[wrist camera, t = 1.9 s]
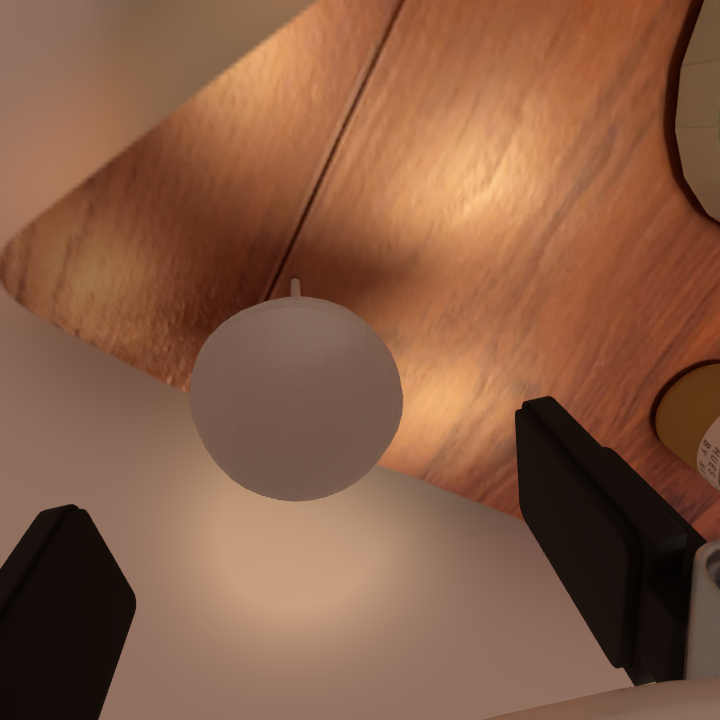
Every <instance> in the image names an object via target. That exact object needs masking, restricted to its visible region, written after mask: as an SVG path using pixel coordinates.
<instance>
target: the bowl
mask: <svg viewBox="0 0 720 720" xmlns="http://www.w3.org/2000/svg"><path fill="white" fill-rule="evenodd" d="M675 127H676V128H675V133H676V138H677V143H678V148H679V154H680V159H681V164H682V169H683V174H684V178H685V180H686V181H687V183H688V184H689V186H690V188H691V189H692V191H693V192H694V194H695V195H696V197H697V199H698V200H699V202H700V203H701V205H702V207H703V208H704V210H705V211H706V213H707V214H708V215H709V216H711V217H712V218H714V219H715V220H717V221H719V222H720V0H704V2H703V5H702V8H701V11H700V14H699V16H698V19H697V22H696V25H695V28H694V31H693V34H692V36H691V39H690V42H689V45H688V48H687V51H686V54H685V56H684V59H683V62H682V67H681V72H680V82H679V92H678V102H677V111H676V121H675Z"/></svg>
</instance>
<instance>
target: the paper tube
mask: <svg viewBox="0 0 720 720" xmlns="http://www.w3.org/2000/svg"><path fill="white" fill-rule="evenodd" d="M655 424H656V430H657V434H658V437H659V439H660V440H661V441H662V443H663V444H664V445H665V446H666V447H667V448H669V449H670V450H671V451H672V452H673V453H675V454H676V455H677V456H678V457H679V458H681V459H682V460H683V461H684V462H685V463H687V464H688V465H689V466H690V467H692V468H693V469H694V470H695V471H696V472H698V473H699V474H700V475H701V476H702V477H703V478H704V479H705V480H706V481H708V482H709V483H710V484H711V485H713V486H714V487H715V488H716V489H717V490H719V491H720V363H719V364H711V365H706V366H702V367H700V368H697V369H695V370H693V371H691V372H689V373H687V374H686V375H684V376H683V377H681V378H680V379H679V380H678V381H676V382H675V383H674V384H673V385H672V386H671V387H670V389H669V390H668V391H667V392H666V393H665V395H664V396H663V398H662V400H661V402H660V404H659V406H658V409H657V412H656V418H655Z"/></svg>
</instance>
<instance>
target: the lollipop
mask: <svg viewBox="0 0 720 720" xmlns="http://www.w3.org/2000/svg"><path fill="white" fill-rule="evenodd" d="M190 406H191V412H192V417H193V420H194V423H195V425H196V427H197V430H198V432H199V435H200V437H201V439H202V441H203V443H204V445H205V447H206V449H207V450H208V452H209V453H210V455H211V456H212V458H213V459H214V461H215V462H216V463H217V464H218V466H219V467H220V468H221V469H222V470H223V471H224V472H225V473H226V474H227V475H228V476H229V477H230V478H231V479H232V480H234V481H235V482H237V483H238V484H240V485H241V486H243V487H244V488H246V489H248V490H250V491H253V492H255V493H257V494H260V495H263V496H266V497H270V498H274V499H278V500H286V501H308V500H314V499H319V498H323V497H327V496H329V495H332V494H334V493H337V492H339V491H341V490H343V489H345V488H347V487H349V486H351V485H352V484H354V483H356V482H357V481H359V480H360V479H361V478H362V477H363V476H365V475H366V474H367V473H368V472H369V471H370V470H371V469H372V468H373V467H374V465H375V464H376V463H377V462H378V460H379V459H380V458H381V456H382V455H383V453H384V452H385V450H386V449H387V448H388V446H389V445H390V443H391V442H392V440H393V438H394V436H395V434H396V432H397V430H398V427H399V423H400V419H401V416H402V408H403V393H402V387H401V382H400V377H399V372H398V369H397V366H396V364H395V361H394V359H393V357H392V354H391V352H390V351H389V349H388V348H387V346H386V345H385V343H384V342H383V341H382V339H381V338H380V336H379V335H378V334H377V333H376V331H375V330H374V329H373V328H372V327H371V326H370V325H369V324H368V323H367V322H365V321H364V320H363V319H362V318H361V317H360V316H358V315H357V314H355V313H353V312H352V311H350V310H349V309H347V308H345V307H343V306H340V305H338V304H335V303H333V302H330V301H327V300H323V299H317V298H311V297H301V295H300V282H299V280H298V279H297V278H293V279H292V280H291V297H284V298H279V299H274V300H269V301H265V302H263V303H260V304H257V305H255V306H252V307H250V308H247V309H244V310H242V311H240V312H238V313H237V314H235V315H234V316H232V317H230V318H229V319H227V320H226V321H224V322H223V323H222V324H221V325H220V326H219V327H218V328H217V329H216V330H215V331H214V332H213V333H212V334H211V335H210V336H209V337H208V338H207V340H206V342H205V343H204V345H203V347H202V348H201V350H200V352H199V353H198V356H197V359H196V362H195V365H194V368H193V372H192V377H191V386H190Z"/></svg>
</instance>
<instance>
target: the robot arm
mask: <svg viewBox="0 0 720 720" xmlns="http://www.w3.org/2000/svg"><path fill="white" fill-rule="evenodd" d="M515 427H516V446H517V465H518V485H519V503H520V509H521V512H522V515H523V518H524V520H525V522H526V523H527V525H528V526H529V528H530V530H531V531H532V533H533V535H534V537H535V538H536V540H537V541H538V543H539V545H540V547H541V548H542V550H543V552H544V553H545V555H546V557H547V558H548V560H549V561H550V563H551V565H552V567H553V568H554V570H555V572H556V573H557V575H558V577H559V578H560V580H561V582H562V583H563V585H564V587H565V588H566V590H567V592H568V593H569V595H570V597H571V598H572V600H573V602H574V603H575V605H576V607H577V608H578V610H579V612H580V613H581V615H582V617H583V618H584V620H585V622H586V623H587V625H588V627H589V628H590V630H591V632H592V633H593V635H594V637H595V638H596V640H597V642H598V643H599V645H600V647H601V648H602V650H603V652H604V653H605V655H606V657H607V658H608V660H609V661H610V663H611V664H612V665H613V666H614V667H615V668H617V669H618V668H622V667H623V668H624V670H625V671H626V673H627V675H628V676H629V677H630V679H631V681H632V683H633V684H634V686H635V687H629V688H623V689H618V690H613V691H608V692H604V693H599V694H595V695H590V696H585V697H581V698H576V699H572V700H567V701H563V702H558V703H554V704H550V705H544V706H540V707H536V708H531V709H527V710H522V711H518V712H513V713H509V714H505V715H501V716H497V717H492V718H489V719H484V720H720V539H717V540H714V541H711V542H707V541H706V540H705V539H704V538H703V537H702V536H701V535H700V534H699V533H698V532H697V531H696V530H695V529H694V528H693V527H692V526H691V525H690V524H689V523H688V522H687V521H686V520H685V519H684V518H682V517H681V516H680V515H679V514H678V513H677V512H676V511H675V510H674V509H673V508H672V507H671V506H670V505H669V504H668V503H667V502H666V501H665V500H664V499H663V498H662V497H661V496H660V495H659V494H658V493H657V492H656V491H655V490H654V489H653V488H652V487H651V486H650V485H649V484H648V483H647V482H646V481H645V480H644V479H643V478H642V477H641V476H640V475H639V474H638V473H637V472H636V471H634V470H633V469H632V468H631V467H630V466H629V465H628V464H627V463H626V462H625V461H624V460H623V459H622V458H621V457H620V456H619V455H618V454H617V453H616V452H615V451H613V450H612V449H611V448H608V447H602V446H601V445H600V444H599V443H598V442H597V441H596V440H595V439H594V438H593V437H592V436H591V435H590V434H589V433H588V432H587V431H586V430H585V429H584V428H583V427H582V426H581V425H580V424H579V423H578V422H577V421H576V420H575V419H574V418H573V417H572V416H571V415H570V414H569V413H568V412H567V411H566V410H565V409H564V408H563V407H562V406H561V405H560V404H559V403H558V402H557V401H556V400H555V399H554V398H553V397H551V396H546V397H542V398H537V399H533V400H528V401H524V402H523V404H522V409H519V410H516V412H515ZM135 610H136V598H135V594H134V592H133V590H132V589H131V587H130V585H129V583H128V582H127V580H126V578H125V576H124V575H123V573H122V571H121V569H120V568H119V566H118V564H117V562H116V561H115V559H114V557H113V555H112V554H111V552H110V550H109V549H108V547H107V545H106V543H105V542H104V540H103V538H102V536H101V535H100V533H99V531H98V529H97V528H96V526H95V524H94V522H93V521H92V519H91V517H90V515H89V514H88V513H87V511H86V510H84V509H79V508H78V507H77V506H75V505H73V504H69V505H65V506H60V507H56V508H51V509H47V510H44V511H42V512H40V513H39V515H37V517H36V518H35V520H34V521H33V522H32V524H31V525H30V527H29V529H28V530H27V531H26V533H25V534H24V535H23V537H22V538H21V540H20V541H19V543H18V544H17V546H16V547H15V549H14V550H13V552H12V553H11V554H10V556H9V557H8V559H7V560H6V562H5V563H4V565H3V566H2V567H1V569H0V720H98V719H99V716H100V713H101V710H102V707H103V704H104V701H105V698H106V696H107V693H108V689H109V687H110V684H111V681H112V678H113V674H114V672H115V669H116V666H117V663H118V661H119V658H120V655H121V652H122V649H123V646H124V643H125V640H126V637H127V634H128V631H129V628H130V626H131V623H132V619H133V617H134V614H135ZM651 682H656V683H654V684H648V683H651ZM644 684H648V685H644ZM640 685H641V686H640Z"/></svg>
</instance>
